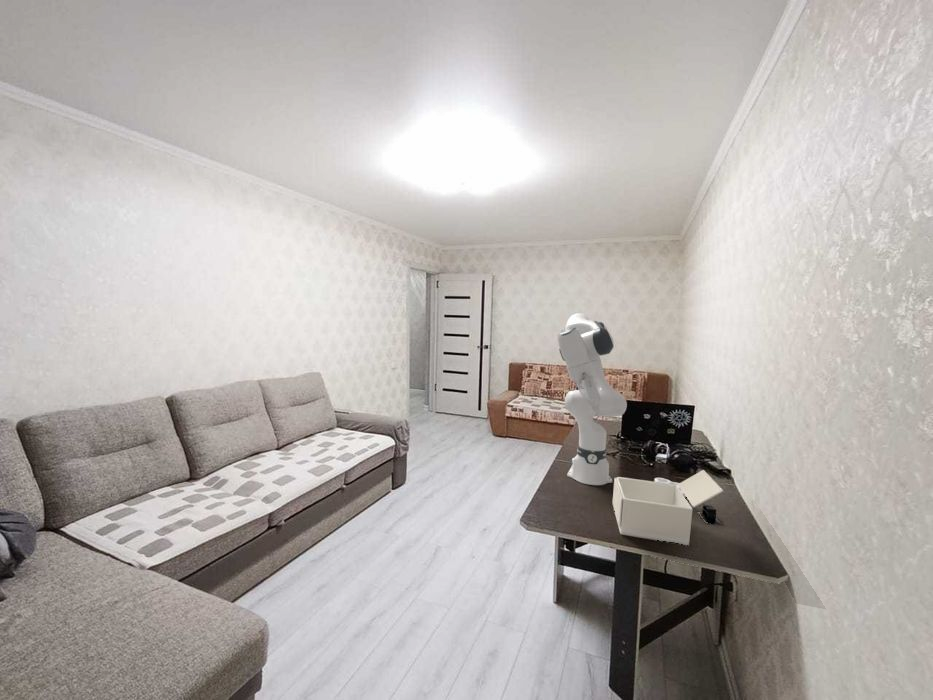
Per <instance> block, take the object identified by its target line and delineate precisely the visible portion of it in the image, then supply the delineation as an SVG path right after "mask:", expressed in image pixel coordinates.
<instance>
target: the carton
mask: <svg viewBox="0 0 933 700" xmlns="http://www.w3.org/2000/svg"><path fill="white" fill-rule="evenodd" d="M613 479H614V480H613V492H612V493H613V494H612V507H613V512H614V511H615V512H614V515H615V518H616V524H617V526H618V529H619V530H618V531H619V533H620V535H622V536H627V537H635V538H641V539H645V540H646V539H647V540H653V541H657V540H659V541H658V542H663V541H666V542H665V543H669V542H675V543H679V544H678V545H681V544H683V546H687V545H688V546H690V536H691V529H692V526H691V525H692V517H693V506H692V505H691V503H690V502H688V501H687V500H686V499H685V498H686V496H683V494H682V493H681V491H680V490H679V488H678V487H677V486H676V485H674V484H667V483H660V482H654V480H653V481H652V480H645V479H636V478H630V477H623V476H622V477H621V476H617V477H614V478H613ZM675 543H674V544H675ZM688 546H687V547H688Z"/></svg>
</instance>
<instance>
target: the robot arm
mask: <svg viewBox="0 0 933 700" xmlns="http://www.w3.org/2000/svg"><path fill="white" fill-rule="evenodd" d="M608 330H609V329H607V327H606V325H605V324H604V323H603V322H601V321H597V320H590V319H589V317H588V316H587V315H586V314H585V313H582V312H577V313H574V314H572V315H571V316H570V317H568V319H567V321H566V324H565V327H564V329H562V330H561V331H560V332H559V333H558V334H557V335H556V336H557V343H558V346H559V354H560V356H561V359H562V360H563V361H564V362H565V366H566V370H567V372H568V376H569V378H570V381H571V382H575V385H576V387H577V389H575V390H570V391H568V392H567V394H566V395H565V397H564V407H565V409H566V410H567V412H568V413H569V414H570V415H571V416H573V418H574V419H575V421H576V423H577V426H578V434H579V435H578V444H577V448H576V450H577V451H576V453H577V454H576V455H575V456H574V457H572V459H571V463H572V465H571V467H570V469H569V470H568V472H567V473H566V474H567V477H568V478H571V479H574V480H576V482H579V483H581V484H585V485H591V486H604V485H606V484H609V483H610V484H612V483H613V479H612V477H611V476H610V475H609V474H610V473H609V471H610V470H609V469H610V462H609V461H608V460H607V448H606V444H607V431H606V429H605V428H604V426H602V425H601V424H599V423H598V422H595V421H594V417H604V418H612V417H613V418H615V417H620V416H623V415H624V414H625V412H626V411H627V407H628V402H627V400H626V396H624V394H622V393H620V392H619V391H617V390H616V389H615V388H613V387H612V386H611V385H610V384H609V383H608V381H607V379H606V376H605V371H604V368H603V365H602V360H601V357H600V356H604V355H608V354H611V352H612V350H613V349H614V340H613V336H612V334H611V333H610V331H608Z"/></svg>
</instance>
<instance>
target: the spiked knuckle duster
mask: <svg viewBox="0 0 933 700" xmlns="http://www.w3.org/2000/svg"><path fill="white" fill-rule="evenodd" d="M653 482H660V483H667V484H674V485H676V486H677V487H678V488H679V490H680V491H681V493H682V494H683V496H684V497H686V496H685V495H684V493H683V492H682V490H681V489H680V487H679V486H678V484H679V483H680V482H676V481H675V482H674V481H671V480H669V479H667V478H664V477H655V478H654V480H653Z"/></svg>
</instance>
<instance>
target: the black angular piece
mask: <svg viewBox="0 0 933 700" xmlns="http://www.w3.org/2000/svg"><path fill="white" fill-rule="evenodd" d="M700 514H701V516H702V517H703V519H704V520H705V521H706V522H708V523H711V524H710V525H716V526H724V525H723V524H722V523H721V521H719V520H718V519H719V518H717V509H716V508H715V506H713V504H712V505H711V504H704V503H702V512H700Z"/></svg>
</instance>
